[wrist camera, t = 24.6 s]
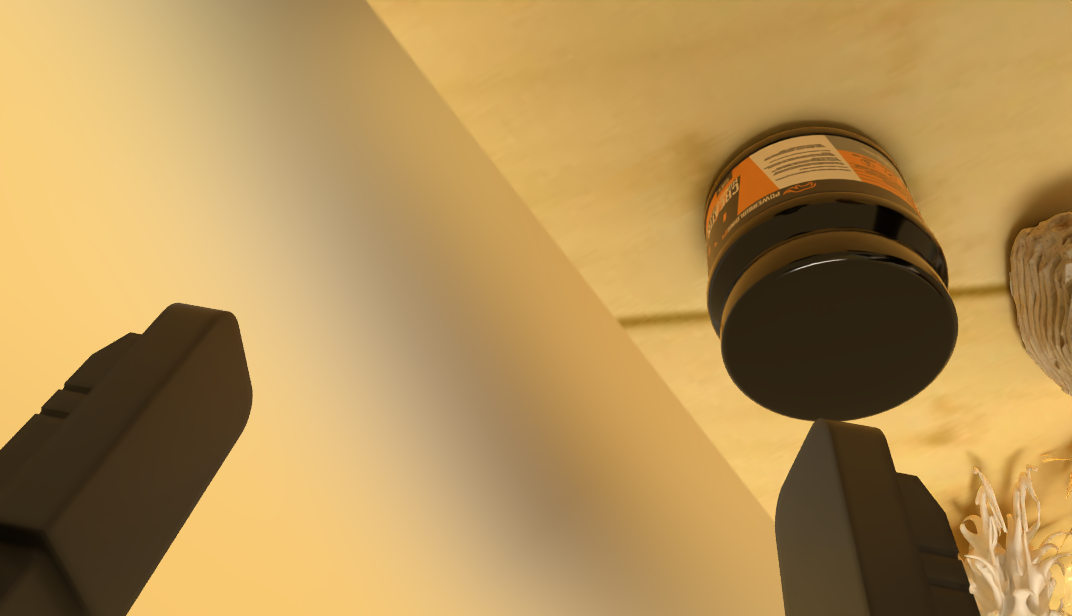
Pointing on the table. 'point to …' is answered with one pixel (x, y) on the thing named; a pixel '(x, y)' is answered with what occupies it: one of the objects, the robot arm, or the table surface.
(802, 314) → the supplement container
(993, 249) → the table surface
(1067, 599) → the yellow thin branching piece
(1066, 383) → the fossil tooth
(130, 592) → the robot arm
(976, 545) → the white branching piece
